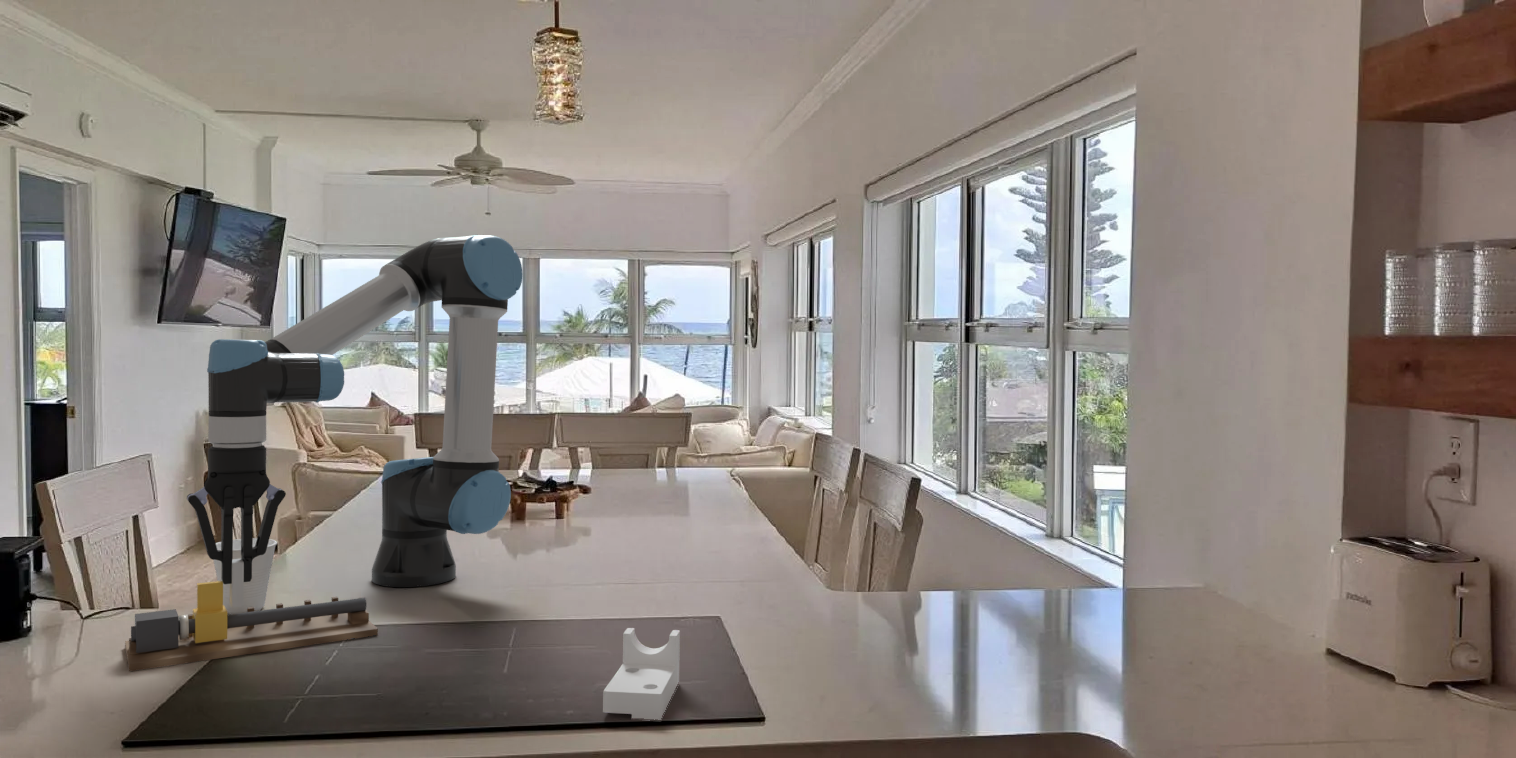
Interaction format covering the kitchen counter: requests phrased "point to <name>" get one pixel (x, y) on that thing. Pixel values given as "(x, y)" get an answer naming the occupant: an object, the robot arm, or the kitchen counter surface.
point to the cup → (258, 583)
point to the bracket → (644, 678)
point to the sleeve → (210, 613)
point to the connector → (160, 630)
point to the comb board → (257, 639)
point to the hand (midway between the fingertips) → (236, 604)
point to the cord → (284, 614)
